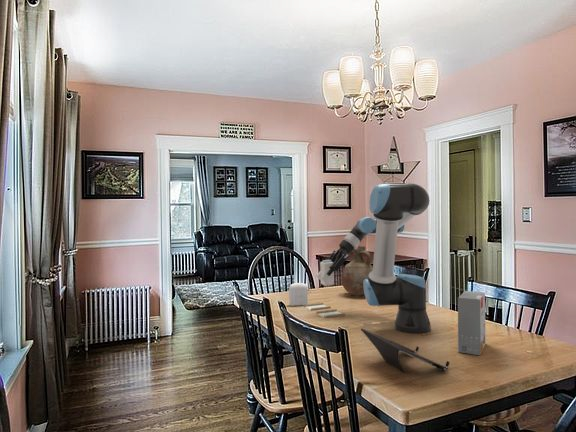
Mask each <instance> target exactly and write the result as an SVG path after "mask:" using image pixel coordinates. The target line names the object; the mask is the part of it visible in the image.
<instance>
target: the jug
mask: <svg viewBox="0 0 576 432" xmlns="http://www.w3.org/2000/svg"><path fill="white" fill-rule="evenodd" d="M352 253H353V259H352V260H351V261H350V262H349V263H346V265H344V268H343V270H342V272H341V275H340V276H341V277H340V282H341V284H342V286H343V289H344V290H345V291H346V292H347V293H349V294H350V295H351V296H352V297H358V298H360V297H365V294H364V288H363V281H364V280H365V279H368V277H369V273H370V272H372V271H373V265H372V264H371V261H372V256H371V253H370V252H369V251H368V250H366V246H365V245H358V246H357V247H356V248H354V251H353V252H352ZM363 255H366V260H365V259H364V258H363Z"/></svg>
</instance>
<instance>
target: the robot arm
mask: <svg viewBox="0 0 576 432" xmlns="http://www.w3.org/2000/svg"><path fill="white" fill-rule="evenodd" d="M429 205H430V196H429V193H428V192H427V190H426V189H425V188H424V187H422V186H421V185H418V184H416V183H383V184H382V183H381V184H376V185H374V187H373V188H372V190H371V192H370V196H369V211H370V212H371V214H373V217H374V218H373V217H371V216H365V217H361V218H360V219H359V220H358V221H357V222H356V224H354V226H353V227H352V229H351V230H350V231H349V232H348V233H347V234H346V235H345V237H344V238H343V239H342V240H341V242H340V243H339V244H338V246H339V248H338V249H337V250H333V251H332V252H331V254H330V255H329V256H328V258H327V259H326V260H331V262H333V264H332V266H330V267H329V269H328V270H327V271H326V272H325V273H324V275H323V276H322V277H321V272H320V271H319V272H318V273H317V274H316V276H315V277H317V279H318V280H320V281H321V279H322V280H323V281H324V282H325V281H326V280H327V279H328V277H329V276H330V275H331V274H332V273H333V272H334V273H335V272H337V271H339V269H340V268H341V267H342V265H343V264H344V263H345V262H346V260H347V259H348V258H350V255H351V254H352V253H353V251H354V249H357V248H358V247H359V244H360V243H362V241H363V239H365V237H366V236H367V235H369V234H370V235H372V234H373V235H374V234H375V237H374V239H375V240H374V249H373V250H374V251H373V261H372V262H373V263H372V264H373V265H372V267H373V271H372V272H370V273H369V277H368V279H365V280H364V281H363V288H364V294H365V296H364V297H365V300H366V302H367V304H368V305H369V306H371V307H385V306H386V307H388V306H397V307H398V308H397V309H398V310H397V314H396V317H395V320H394V328H395V329H396V330H398V331H400V332H403V333H404V332H405V333H410V334H411V333H414V334H421V333H427V332H430V331H431V330H432V326H431V325H432V324H431V322H430V318H429V316H428V312H427V285H426V280H425V278H424V277H422V276H419V275H415V274H408V273H398V274H397V276H396V275H395V274H394V271H395V270H394V267H395V260H396V259H395V258H396V248H397V238H398V234H399V233H400V234H401V233H403V232H404V229H405V225H406V224H407V223H408V222H409V221H410V220H412V219H413V218H414V217H416V216H418V215H421V214H422V213H424V212H425V211H427V209H428V208H429Z"/></svg>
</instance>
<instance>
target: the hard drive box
mask: <svg viewBox="0 0 576 432" xmlns="http://www.w3.org/2000/svg"><path fill="white" fill-rule="evenodd" d="M485 346H486V292H482V291H473V290H472V291H470V290H469V291H468V290H464V291H463V293H462V294H460V295H459V296H458V297H457V352H458V353H462V354H469V355H474V356H481V355H482V353H483V350H484V348H485Z"/></svg>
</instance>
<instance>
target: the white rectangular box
mask: <svg viewBox="0 0 576 432" xmlns="http://www.w3.org/2000/svg"><path fill="white" fill-rule="evenodd" d="M332 264H333V262H331V260H327V259H325V260H324V259H322V261H320V267H319V268H320V270H319V272H321V277H322V276H323V275H324V273H325V272H326V271H327V270H328V269H329V267H330V266H332ZM320 285H322V286H333V285H335V271H334V272H333V273H332V274H331V275H330V276H329V277H328V279H327V280H326V281H325V282H324V281H323V280H322V279H320Z"/></svg>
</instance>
